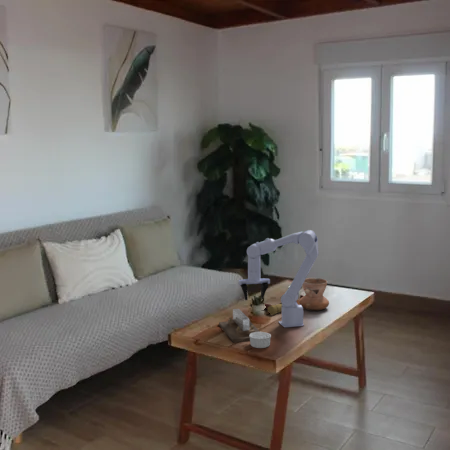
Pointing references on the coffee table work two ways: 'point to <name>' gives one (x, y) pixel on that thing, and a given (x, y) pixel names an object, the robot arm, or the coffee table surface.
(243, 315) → the steel bar
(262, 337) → the ramekin
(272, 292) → the coffee table surface
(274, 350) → the coffee table surface
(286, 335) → the coffee table surface
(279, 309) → the gavel
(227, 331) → the board
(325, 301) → the clay incense burner
